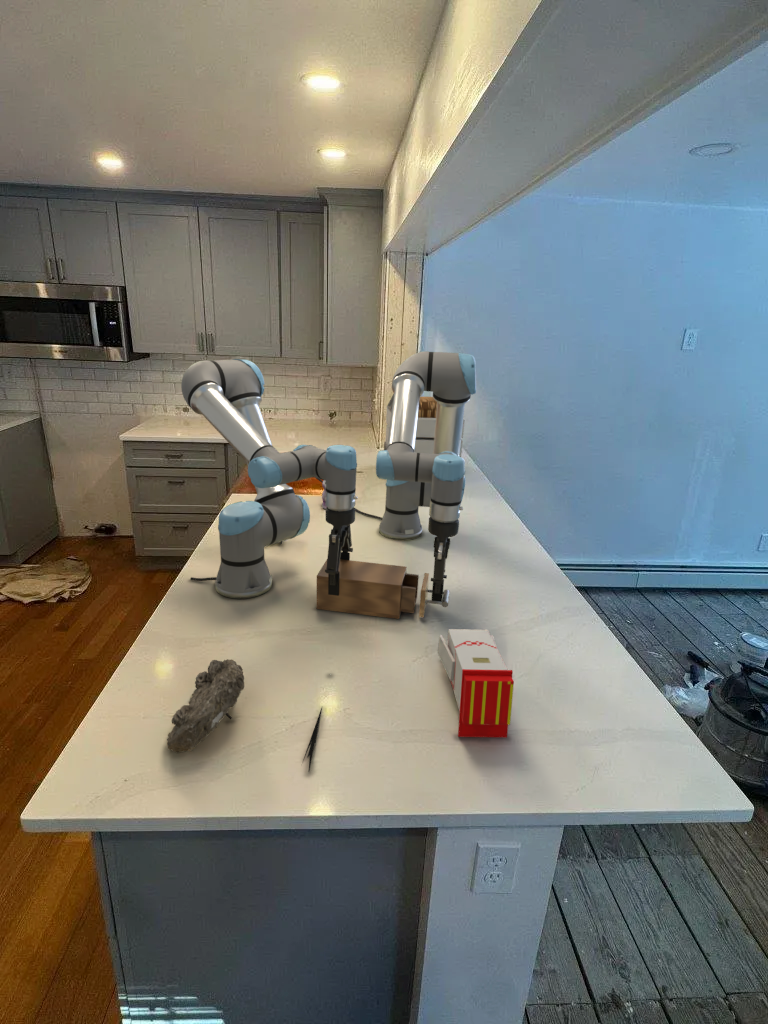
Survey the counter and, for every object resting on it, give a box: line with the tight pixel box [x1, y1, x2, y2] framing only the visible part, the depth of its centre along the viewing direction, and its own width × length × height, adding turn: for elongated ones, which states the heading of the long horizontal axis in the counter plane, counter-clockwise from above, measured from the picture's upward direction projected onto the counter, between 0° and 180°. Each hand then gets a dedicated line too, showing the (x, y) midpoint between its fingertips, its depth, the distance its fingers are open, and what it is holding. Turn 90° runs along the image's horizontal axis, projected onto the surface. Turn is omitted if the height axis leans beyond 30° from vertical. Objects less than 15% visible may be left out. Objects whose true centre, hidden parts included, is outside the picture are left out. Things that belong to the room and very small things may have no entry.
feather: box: [301, 673, 332, 771], centre depth 108 cm, size 2×28×2 cm
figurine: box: [321, 480, 327, 510], centre depth 222 cm, size 9×10×15 cm
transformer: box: [383, 393, 465, 458], centre depth 268 cm, size 34×33×41 cm
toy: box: [437, 628, 515, 738], centre depth 117 cm, size 12×13×30 cm
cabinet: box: [316, 559, 408, 620], centre depth 150 cm, size 22×11×10 cm, turn 81°
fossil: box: [166, 658, 245, 754], centre depth 106 cm, size 22×10×15 cm
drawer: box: [400, 572, 451, 618], centre depth 149 cm, size 26×10×8 cm, turn 81°
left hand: (339, 584), depth 151 cm, fingers closed on cabinet, 11 cm apart
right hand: (436, 602), depth 148 cm, fingers closed
